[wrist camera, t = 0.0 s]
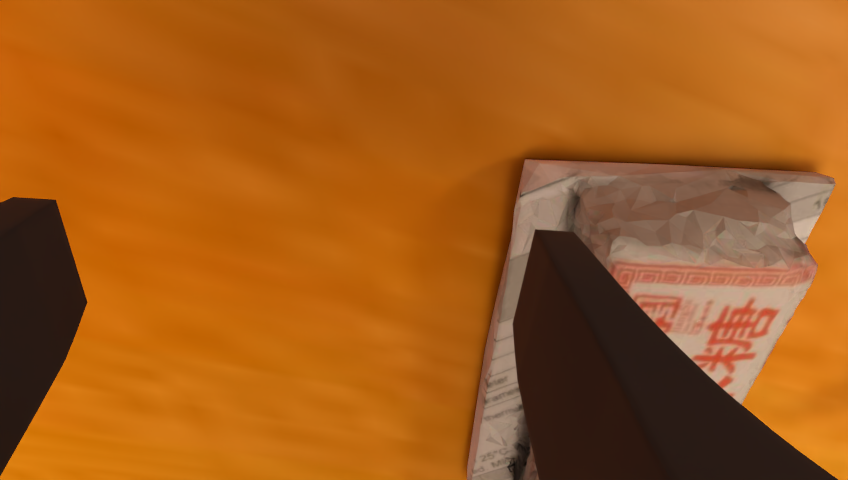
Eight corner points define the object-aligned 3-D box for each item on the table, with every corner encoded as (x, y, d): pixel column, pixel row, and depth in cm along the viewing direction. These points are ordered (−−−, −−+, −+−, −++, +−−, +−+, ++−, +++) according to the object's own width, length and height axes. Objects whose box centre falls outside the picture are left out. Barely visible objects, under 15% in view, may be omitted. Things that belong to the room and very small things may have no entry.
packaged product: (539, 240, 17) (912, 253, 17) (514, 148, 20) (819, 160, 21) (469, 578, 27) (699, 580, 28) (462, 476, 31) (663, 479, 32)
